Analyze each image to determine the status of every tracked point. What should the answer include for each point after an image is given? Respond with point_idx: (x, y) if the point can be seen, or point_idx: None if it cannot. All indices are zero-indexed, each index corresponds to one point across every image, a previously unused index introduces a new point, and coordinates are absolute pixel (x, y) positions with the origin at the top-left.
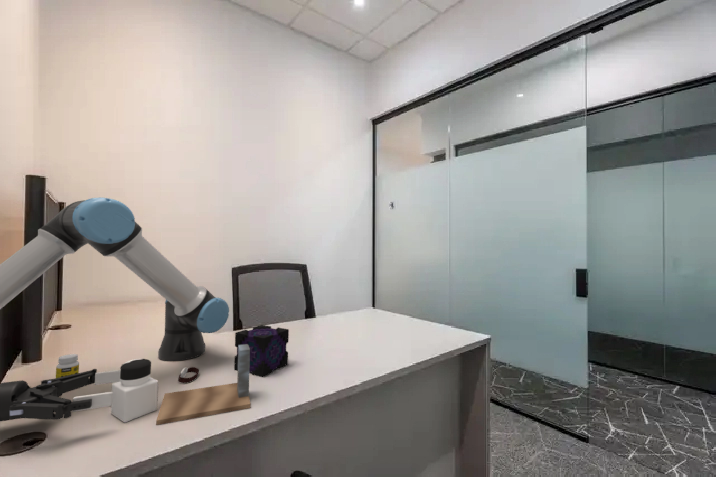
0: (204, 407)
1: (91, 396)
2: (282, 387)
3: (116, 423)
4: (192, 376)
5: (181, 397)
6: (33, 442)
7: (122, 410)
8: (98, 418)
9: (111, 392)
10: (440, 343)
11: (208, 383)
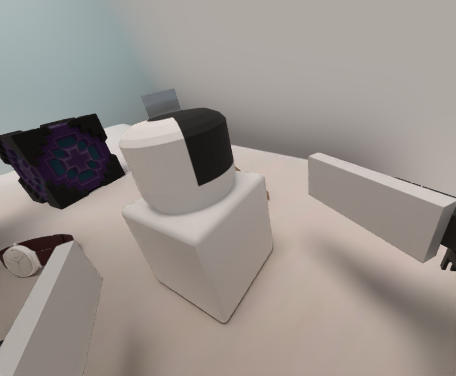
0: None
1: (371, 173)
2: None
3: (278, 264)
4: (66, 234)
5: None
6: None
7: (266, 232)
8: (260, 349)
9: (316, 154)
10: (117, 130)
11: (107, 215)
